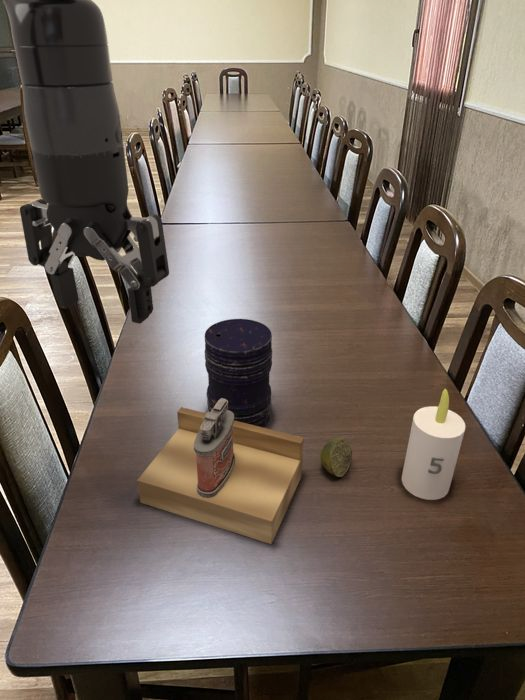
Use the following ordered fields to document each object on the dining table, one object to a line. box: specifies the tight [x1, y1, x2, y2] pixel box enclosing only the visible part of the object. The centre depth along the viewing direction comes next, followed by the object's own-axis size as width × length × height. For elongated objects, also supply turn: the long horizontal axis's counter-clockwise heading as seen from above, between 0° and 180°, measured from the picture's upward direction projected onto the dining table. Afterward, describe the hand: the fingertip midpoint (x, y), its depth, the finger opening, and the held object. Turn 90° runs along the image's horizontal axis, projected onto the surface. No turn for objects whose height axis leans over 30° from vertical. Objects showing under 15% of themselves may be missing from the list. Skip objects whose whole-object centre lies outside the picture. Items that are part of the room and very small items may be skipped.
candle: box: [401, 388, 466, 501], centre depth 69 cm, size 6×6×15 cm
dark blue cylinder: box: [204, 318, 273, 428], centre depth 81 cm, size 10×10×15 cm
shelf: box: [137, 406, 305, 545], centre depth 70 cm, size 12×18×7 cm, turn 69°
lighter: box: [194, 398, 235, 498], centre depth 65 cm, size 8×3×10 cm, turn 161°
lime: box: [319, 437, 353, 478], centre depth 73 cm, size 4×5×5 cm
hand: (104, 312), depth 54 cm, fingers open, 8 cm apart
